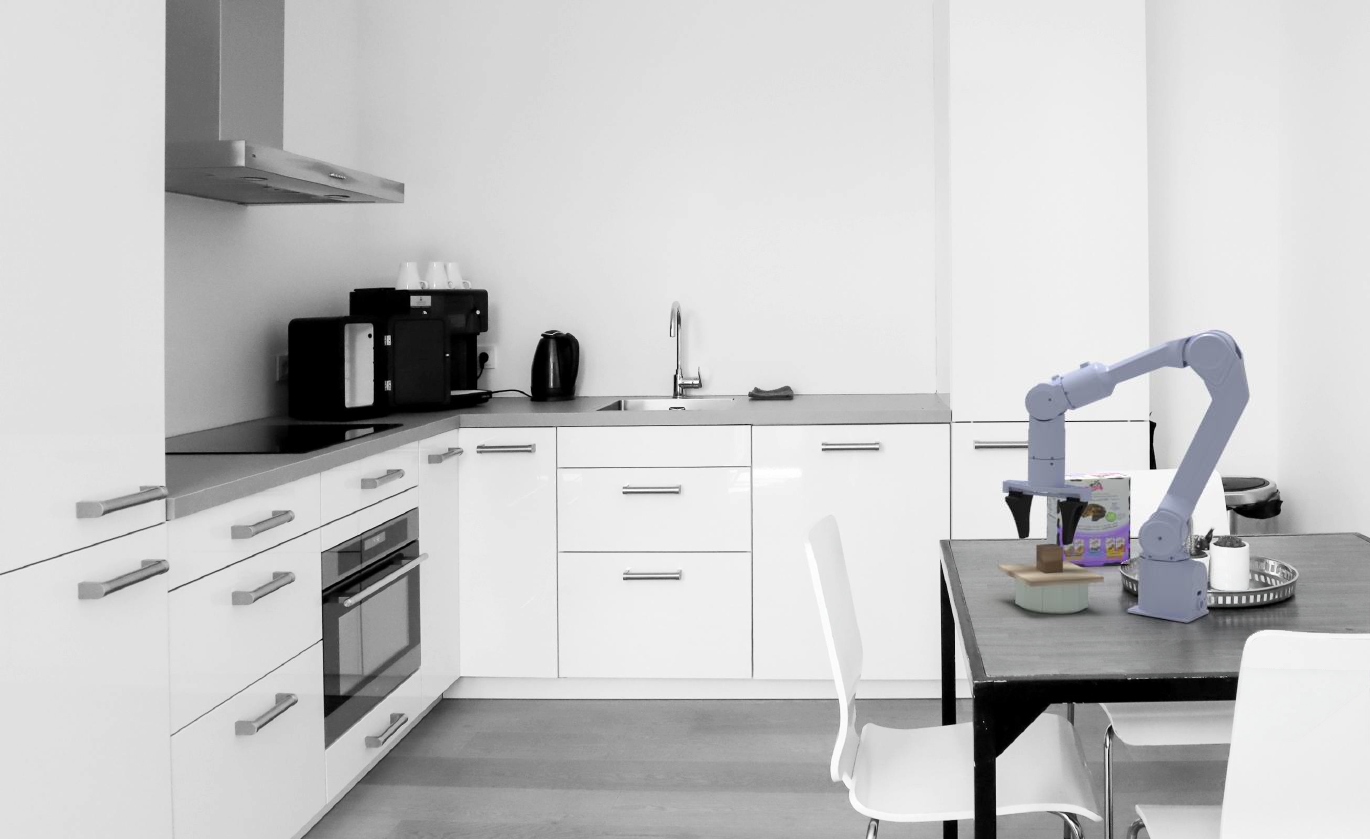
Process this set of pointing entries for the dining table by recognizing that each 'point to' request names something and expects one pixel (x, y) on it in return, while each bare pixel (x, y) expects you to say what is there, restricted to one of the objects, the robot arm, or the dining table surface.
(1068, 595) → the celadon bowl
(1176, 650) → the dining table surface
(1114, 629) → the dining table surface
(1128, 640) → the dining table surface
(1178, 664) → the dining table surface
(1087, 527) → the candy box
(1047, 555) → the birch lid
